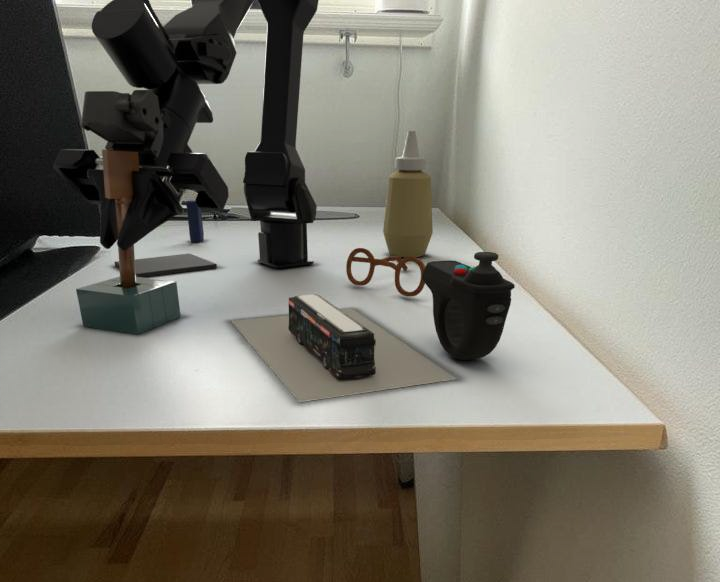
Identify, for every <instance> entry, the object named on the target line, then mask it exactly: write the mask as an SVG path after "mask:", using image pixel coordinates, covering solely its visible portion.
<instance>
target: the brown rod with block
mask: <svg viewBox="0 0 720 582" xmlns="http://www.w3.org/2000/svg"><path fill="white" fill-rule="evenodd" d="M101 155H102V158H103V172H104V186H105V197H106V198H109V199H115V208H116V223H117V238H118V237H119V233H120V230H121V227H122V224H123V221H124V219H125V216H126V213H127V211H128V208H129V205H130V203H131V199H132V198H133V181H132V171H139V160H138V152H134V151H121V150H106V149H105V148H104V149H101ZM117 250H118V251H117V252H118V261H119V268H118V269H119V277H120V283H121V287H122V288H132V287H135V286H136V273H135V259H136V257H135V244H134V245H132V246H131V247H130V248H128V249H127V250H125V251H124V250H121V249H120V248H119V247H118V246H117Z"/></svg>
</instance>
